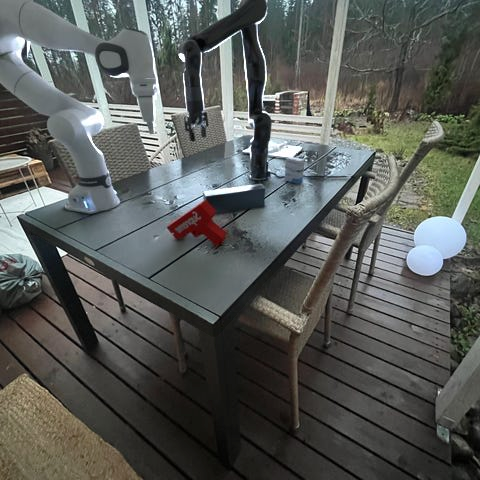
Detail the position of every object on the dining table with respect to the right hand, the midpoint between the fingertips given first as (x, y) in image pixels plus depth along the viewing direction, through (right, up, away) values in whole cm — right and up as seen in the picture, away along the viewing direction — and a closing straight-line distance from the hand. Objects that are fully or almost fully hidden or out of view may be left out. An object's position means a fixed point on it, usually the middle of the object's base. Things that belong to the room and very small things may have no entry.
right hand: (198, 139), depth 123 cm
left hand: (-13, -6, -23) cm, 27 cm away
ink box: (+47, -15, +21) cm, 54 cm away
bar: (+17, -32, -6) cm, 37 cm away
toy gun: (+4, -46, -27) cm, 54 cm away
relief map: (+43, +18, +71) cm, 85 cm away
